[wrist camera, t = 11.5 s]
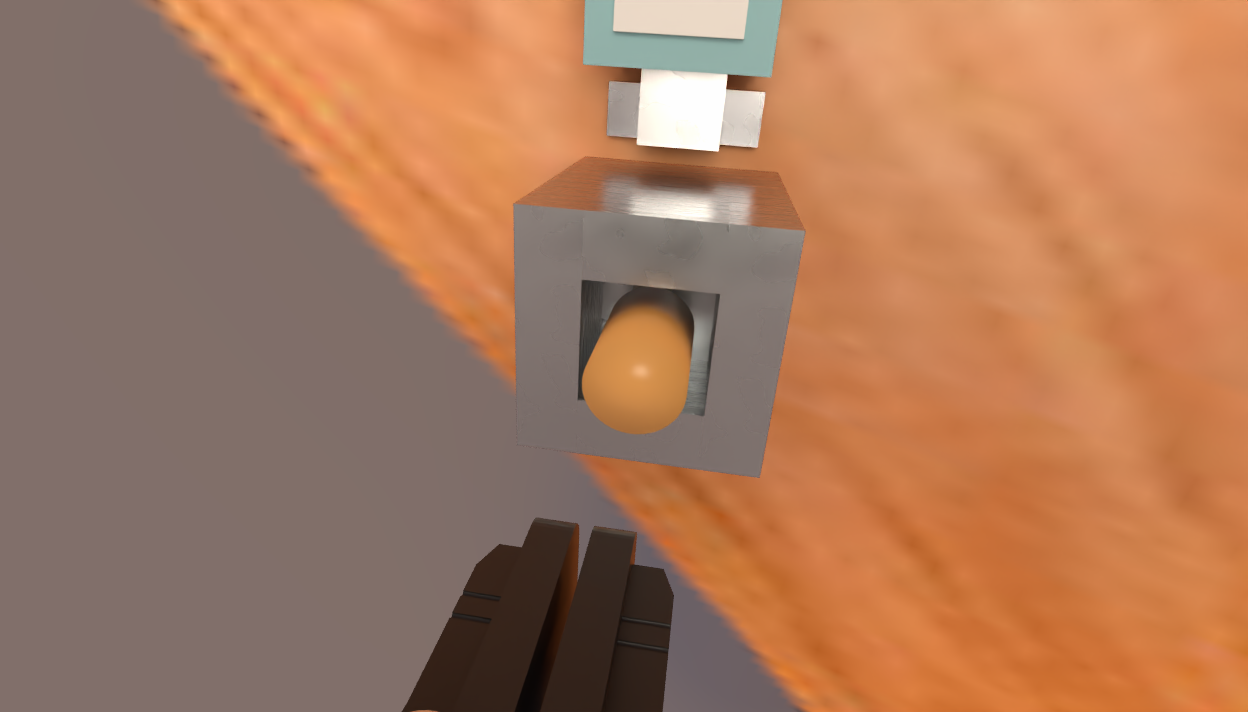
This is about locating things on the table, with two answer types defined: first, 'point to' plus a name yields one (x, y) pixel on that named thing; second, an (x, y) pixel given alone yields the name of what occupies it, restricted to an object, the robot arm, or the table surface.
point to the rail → (684, 111)
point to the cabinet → (664, 258)
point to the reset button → (641, 362)
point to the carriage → (683, 35)
